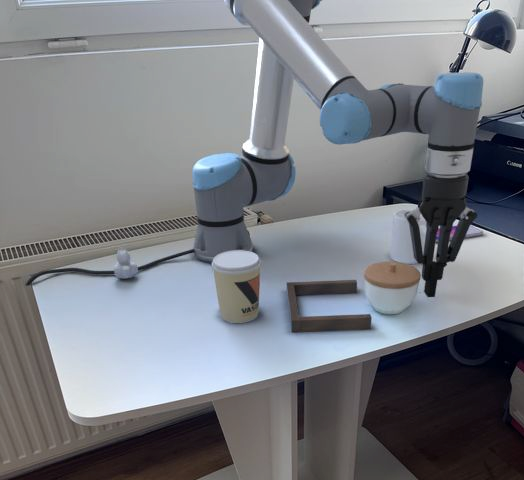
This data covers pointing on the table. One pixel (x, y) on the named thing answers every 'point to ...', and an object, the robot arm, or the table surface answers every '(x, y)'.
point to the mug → (404, 238)
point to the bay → (324, 321)
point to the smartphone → (471, 232)
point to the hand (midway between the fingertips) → (429, 294)
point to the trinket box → (391, 286)
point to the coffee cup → (237, 285)
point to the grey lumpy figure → (124, 265)
